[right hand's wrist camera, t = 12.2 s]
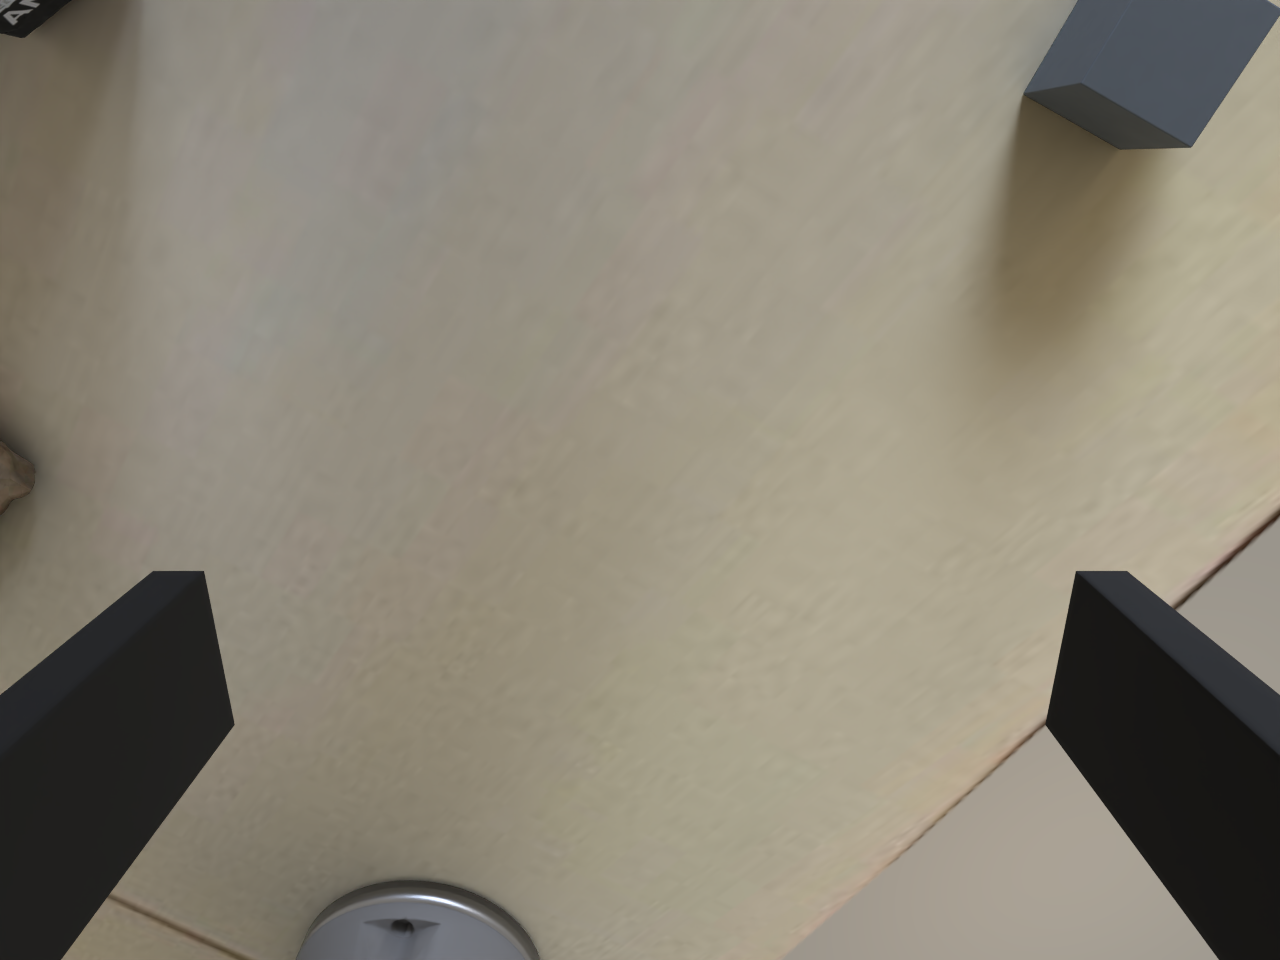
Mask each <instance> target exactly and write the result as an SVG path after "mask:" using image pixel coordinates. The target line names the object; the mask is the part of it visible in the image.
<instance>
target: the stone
mask: <svg viewBox="0 0 1280 960" xmlns="http://www.w3.org/2000/svg"><path fill="white" fill-rule="evenodd" d="M34 474H35V470H34V465H33V464H31V463H30V462H29V461H27V460H26V459H24V458H22V457H21V456H19V455H17V454H16V453H14V452H12V451H11V450H10V449H9V448H8V447H7V445H6V444H5V443H4V442H1V441H0V515H2V513H3V512H4V511H5V510H6V509H7V508H8V506H9V503H10V502H11V501H12V500H14V499H15V498H21V497H23V496H25V495H28V494H29V493H30V491H31V489H32V487H33V485H34V483H35V476H34Z"/></svg>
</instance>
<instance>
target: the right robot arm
mask: <svg viewBox="0 0 1280 960" xmlns="http://www.w3.org/2000/svg"><path fill="white" fill-rule="evenodd" d="M234 725H235V724H234V719H233V714H232V709H231V704H230V699H229V694H228V689H227V684H226V679H225V674H224V669H223V664H222V659H221V654H220V649H219V644H218V639H217V634H216V629H215V624H214V619H213V614H212V609H211V604H210V599H209V594H208V589H207V584H206V579H205V574H204V571H153V572H151V573H150V574H149V575H148V576H146V577H145V578H144V579H143V580H142V581H140V582H139V583H138V584H137V585H135V586H134V587H133V588H132V589H130V590H129V591H128V592H127V593H126V594H124V595H123V596H122V597H121V598H119V599H118V600H117V601H116V602H114V603H113V604H112V605H111V606H109V607H108V608H107V609H106V610H105V611H103V612H102V613H101V614H100V615H98V616H97V617H96V618H95V619H93V620H92V621H91V622H90V623H89V624H87V625H86V626H85V627H84V628H82V629H81V630H80V631H79V632H77V633H76V634H75V635H74V636H73V637H71V638H70V639H69V640H68V641H66V642H65V643H64V644H63V645H61V646H60V647H59V648H58V649H56V650H55V651H54V652H53V653H52V654H50V655H49V656H48V657H47V658H45V659H44V660H43V661H42V662H40V663H39V664H38V665H37V666H36V667H34V668H33V669H32V670H31V671H29V672H28V673H27V674H26V675H24V676H23V677H22V678H21V679H20V680H18V681H17V682H16V683H15V684H13V685H12V686H11V687H10V688H8V689H7V690H6V691H5V692H3V693H2V694H1V695H0V960H61V959H62V958H63V956H64V955H65V954H66V952H67V951H68V949H69V948H70V947H71V945H72V944H73V943H74V941H75V940H76V939H77V937H78V936H79V935H80V933H81V932H82V931H83V929H84V928H85V926H86V925H87V924H88V922H89V921H90V920H91V918H92V917H93V916H94V914H95V913H96V912H97V910H98V909H99V908H100V906H101V905H102V903H103V902H104V901H105V899H106V898H107V897H108V895H109V894H110V893H111V891H112V890H113V889H114V887H115V886H116V885H117V883H118V882H119V880H120V879H121V878H122V876H123V875H124V874H125V872H126V871H127V870H128V868H129V867H130V866H131V864H132V863H133V862H134V860H135V859H136V857H137V856H138V855H139V853H140V852H141V851H142V849H143V848H144V847H145V845H146V844H147V843H148V841H149V840H150V838H151V837H152V836H153V834H154V833H155V832H156V830H157V829H158V828H159V826H160V825H161V824H162V822H163V821H164V820H165V818H166V817H167V815H168V814H169V813H170V811H171V810H172V809H173V807H174V806H175V805H176V803H177V802H178V801H179V799H180V798H181V797H182V795H183V794H184V792H185V791H186V790H187V788H188V787H189V786H190V784H191V783H192V782H193V780H194V779H195V778H196V776H197V775H198V774H199V772H200V771H201V769H202V768H203V767H204V765H205V764H206V763H207V761H208V760H209V759H210V757H211V756H212V755H213V753H214V752H215V751H216V749H217V748H218V746H219V745H220V744H221V742H222V741H223V740H224V738H225V737H226V736H227V734H228V733H229V732H230V730H231V729H232V728H233V726H234ZM1045 725H1046V726H1047V727H1048V729H1049V730H1050V732H1051V733H1052V734H1053V736H1054V737H1055V738H1056V740H1057V741H1058V742H1059V744H1060V745H1061V746H1062V748H1063V749H1064V751H1065V752H1066V753H1067V755H1068V756H1069V757H1070V759H1071V760H1072V761H1073V763H1074V764H1075V765H1076V767H1077V768H1078V769H1079V771H1080V772H1081V774H1082V775H1083V776H1084V778H1085V779H1086V780H1087V782H1088V783H1089V784H1090V786H1091V787H1092V788H1093V790H1094V791H1095V792H1096V794H1097V795H1098V797H1099V798H1100V799H1101V801H1102V802H1103V803H1104V805H1105V806H1106V807H1107V809H1108V810H1109V811H1110V813H1111V814H1112V815H1113V817H1114V818H1115V820H1116V821H1117V822H1118V824H1119V825H1120V826H1121V828H1122V829H1123V830H1124V832H1125V833H1126V834H1127V836H1128V837H1129V838H1130V840H1131V841H1132V843H1133V844H1134V845H1135V847H1136V848H1137V849H1138V851H1139V852H1140V853H1141V855H1142V856H1143V857H1144V859H1145V860H1146V861H1147V863H1148V864H1149V866H1150V867H1151V868H1152V870H1153V871H1154V872H1155V874H1156V875H1157V876H1158V878H1159V879H1160V880H1161V882H1162V883H1163V885H1164V886H1165V887H1166V889H1167V890H1168V891H1169V893H1170V894H1171V895H1172V897H1173V898H1174V899H1175V901H1176V902H1177V903H1178V905H1179V906H1180V907H1181V909H1182V910H1183V912H1184V913H1185V914H1186V916H1187V917H1188V918H1189V920H1190V921H1191V922H1192V924H1193V925H1194V926H1195V928H1196V929H1197V930H1198V932H1199V933H1200V934H1201V936H1202V937H1203V939H1204V940H1205V941H1206V943H1207V944H1208V945H1209V947H1210V948H1211V949H1212V951H1213V952H1214V954H1215V955H1216V956H1217V958H1218V959H1219V960H1280V695H1279V694H1278V693H1277V692H1275V691H1274V690H1273V689H1272V688H1270V687H1269V686H1268V685H1267V684H1265V683H1264V682H1263V681H1262V680H1260V679H1259V678H1258V677H1257V676H1255V675H1254V674H1253V673H1252V672H1251V671H1249V670H1248V669H1247V668H1246V667H1244V666H1243V665H1242V664H1241V663H1240V662H1238V661H1237V660H1236V659H1235V658H1233V657H1232V656H1231V655H1230V654H1228V653H1227V652H1226V651H1225V650H1224V649H1222V648H1221V647H1220V646H1219V645H1217V644H1216V643H1215V642H1214V641H1212V640H1211V639H1210V638H1209V637H1207V636H1206V635H1205V634H1204V633H1202V632H1201V631H1200V630H1199V629H1198V628H1196V627H1195V626H1194V625H1193V624H1191V623H1190V622H1189V621H1188V620H1187V619H1185V618H1184V617H1183V616H1182V615H1180V614H1179V613H1178V612H1177V611H1175V610H1174V609H1173V608H1172V607H1171V606H1169V605H1168V604H1167V603H1166V602H1164V601H1163V600H1162V599H1161V598H1159V597H1158V596H1157V595H1156V594H1154V593H1153V592H1152V591H1151V590H1150V589H1148V588H1147V587H1146V586H1145V585H1143V584H1142V583H1141V582H1140V581H1138V580H1137V579H1136V578H1135V577H1134V576H1132V575H1131V574H1130V573H1129V572H1127V571H1076V574H1075V579H1074V584H1073V589H1072V594H1071V599H1070V604H1069V609H1068V614H1067V619H1066V624H1065V629H1064V634H1063V639H1062V644H1061V649H1060V654H1059V659H1058V664H1057V669H1056V674H1055V679H1054V684H1053V689H1052V694H1051V699H1050V704H1049V709H1048V714H1047V719H1046V724H1045ZM296 960H540V959H539V956H538V953H537V950H536V948H535V946H534V944H533V942H532V940H531V939H530V937H529V936H528V935H527V933H526V932H525V931H524V929H523V928H522V927H521V926H520V925H519V924H518V923H517V922H516V921H515V920H514V919H513V918H512V917H511V916H510V915H509V914H507V913H506V912H505V911H504V910H502V909H501V908H499V907H498V906H496V905H495V904H493V903H491V902H490V901H488V900H486V899H484V898H482V897H480V896H478V895H476V894H473V893H471V892H468V891H465V890H463V889H460V888H456V887H453V886H449V885H444V884H439V883H433V882H425V881H394V882H386V883H380V884H375V885H371V886H367V887H364V888H361V889H358V890H356V891H353V892H351V893H349V894H347V895H345V896H343V897H341V898H340V899H338V900H336V901H335V902H333V903H332V904H331V905H329V906H328V907H327V908H326V909H325V910H324V911H323V912H322V913H320V915H319V916H318V917H317V918H316V919H315V921H314V922H313V924H312V925H311V927H310V929H309V931H308V933H307V935H306V937H305V939H304V942H303V944H302V946H301V948H300V951H299V953H298V955H297V957H296Z"/></svg>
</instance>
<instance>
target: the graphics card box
mask: <svg viewBox="0 0 1280 960" xmlns="http://www.w3.org/2000/svg"><path fill="white" fill-rule="evenodd" d="M70 1H71V0H0V33H1V34H6V35H10V36H15V37H19V38H25V37H26V36H27V35H28V34H30V33H31V32H32V31H33V30H35V29H36V28H37V27H39V26H40V25H41V24H43V23H44V22H45V21H46V20H47V19H48V18H50V17H51V16H52V15H54V14H55V13H56V12H57V11H58V10H59V9H60V8H62V7H63V6H64V5H66V4H67V3H68V2H70Z"/></svg>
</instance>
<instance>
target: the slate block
mask: <svg viewBox="0 0 1280 960" xmlns="http://www.w3.org/2000/svg"><path fill="white" fill-rule="evenodd" d="M1279 16H1280V8H1279V7H1277V6H1276V5H1274V4H1272V3H1271V2H1269V1H1268V0H1078V2H1077V3H1076V5H1075V7H1074V8H1073V10H1072V12H1071V14H1070V15H1069V17H1068V19H1067V20H1066V22H1065V24H1064V25H1063V27H1062V29H1061V31H1060V32H1059V34H1058V36H1057V37H1056V39H1055V41H1054V42H1053V44H1052V46H1051V48H1050V49H1049V51H1048V53H1047V54H1046V56H1045V58H1044V59H1043V61H1042V63H1041V65H1040V66H1039V68H1038V70H1037V71H1036V73H1035V75H1034V76H1033V78H1032V80H1031V82H1030V83H1029V85H1028V87H1027V88H1026V90H1025V92H1024V95H1025V96H1027V97H1029V98H1031V99H1032V100H1034V101H1036V102H1038V103H1039V104H1041V105H1043V106H1045V107H1046V108H1048V109H1050V110H1052V111H1054V112H1055V113H1057V114H1059V115H1061V116H1062V117H1064V118H1066V119H1068V120H1069V121H1071V122H1073V123H1075V124H1076V125H1078V126H1080V127H1082V128H1083V129H1085V130H1087V131H1089V132H1090V133H1092V134H1094V135H1096V136H1097V137H1099V138H1101V139H1103V140H1104V141H1106V142H1108V143H1110V144H1111V145H1113V146H1115V147H1117V148H1118V149H1157V148H1191V147H1192V146H1193V144H1194V143H1195V141H1196V140H1197V138H1198V137H1199V135H1200V134H1201V132H1202V131H1203V129H1204V128H1205V126H1206V125H1207V123H1208V122H1209V120H1210V119H1211V117H1212V116H1213V114H1214V113H1215V111H1216V110H1217V108H1218V107H1219V105H1220V104H1221V103H1222V101H1223V100H1224V98H1225V97H1226V95H1227V94H1228V92H1229V91H1230V89H1231V88H1232V86H1233V85H1234V83H1235V82H1236V80H1237V79H1238V77H1239V76H1240V74H1241V73H1242V71H1243V70H1244V68H1245V67H1246V65H1247V64H1248V62H1249V61H1250V59H1251V58H1252V56H1253V55H1254V53H1255V52H1256V50H1257V49H1258V47H1259V46H1260V44H1261V43H1262V41H1263V40H1264V38H1265V37H1266V35H1267V34H1268V32H1269V31H1270V29H1271V28H1272V26H1273V25H1274V23H1275V22H1276V20H1277V19H1278V17H1279Z"/></svg>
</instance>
